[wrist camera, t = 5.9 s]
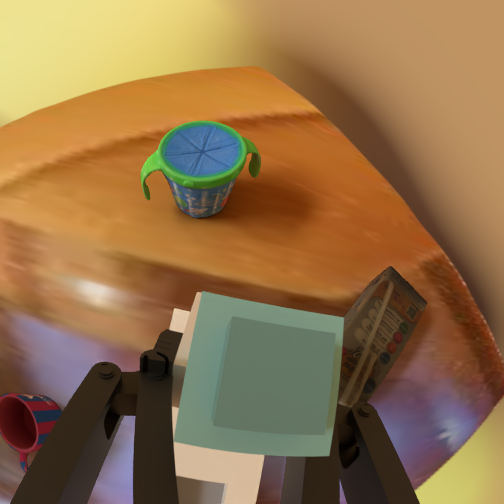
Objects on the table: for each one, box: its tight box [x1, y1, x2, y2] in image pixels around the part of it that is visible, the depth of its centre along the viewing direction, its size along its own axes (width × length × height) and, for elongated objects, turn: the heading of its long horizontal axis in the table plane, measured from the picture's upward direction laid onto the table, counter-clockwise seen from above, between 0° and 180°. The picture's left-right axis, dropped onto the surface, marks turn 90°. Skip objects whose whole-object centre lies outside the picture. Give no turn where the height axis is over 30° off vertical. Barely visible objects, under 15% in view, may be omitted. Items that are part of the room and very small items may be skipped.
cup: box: [0, 393, 62, 472], centre depth 19 cm, size 7×10×7 cm
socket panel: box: [169, 308, 265, 504], centre depth 25 cm, size 12×28×3 cm, turn 172°
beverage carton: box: [337, 267, 427, 407], centre depth 31 cm, size 8×19×7 cm, turn 136°
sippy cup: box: [141, 121, 261, 218], centre depth 36 cm, size 16×10×10 cm
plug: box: [173, 291, 344, 456], centre depth 13 cm, size 4×4×16 cm
